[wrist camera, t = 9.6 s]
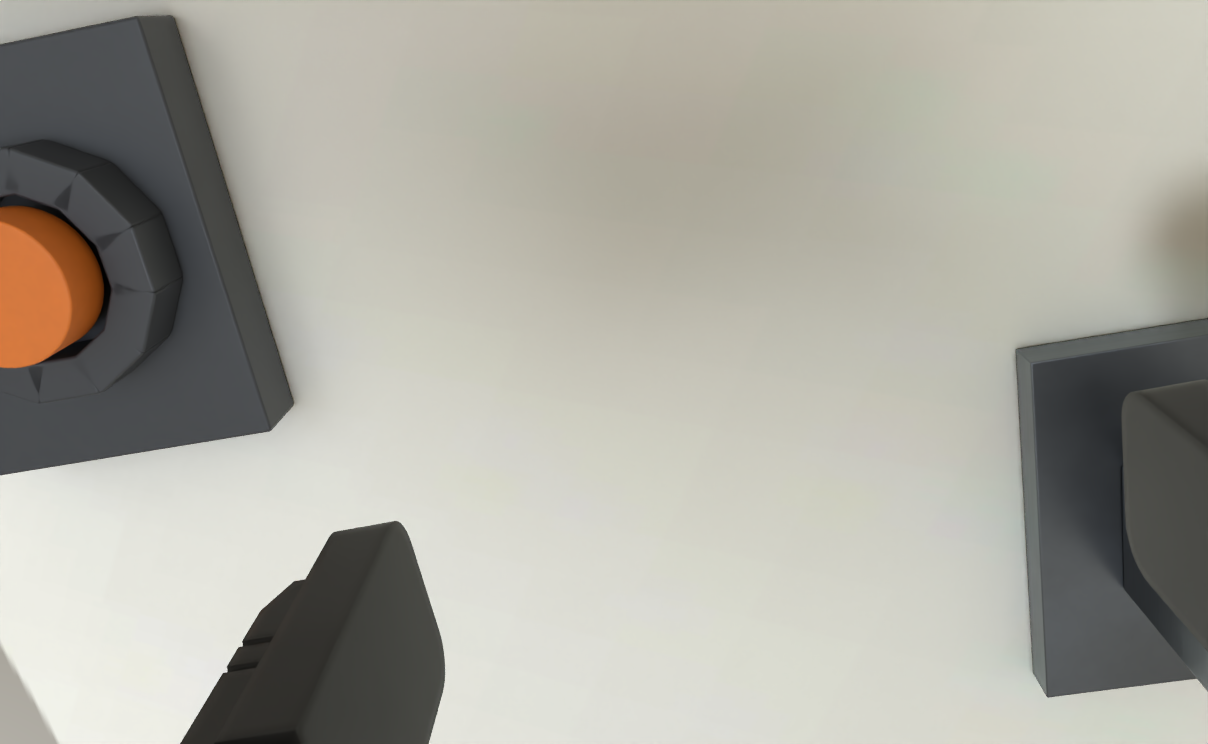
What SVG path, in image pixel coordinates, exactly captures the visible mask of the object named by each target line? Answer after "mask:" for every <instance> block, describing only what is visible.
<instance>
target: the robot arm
mask: <svg viewBox="0 0 1208 744" xmlns="http://www.w3.org/2000/svg"><path fill="white" fill-rule="evenodd" d="M1122 445H1123V470H1124V496H1125V520H1126V530H1127V535H1128V540H1129V544H1130V547H1131V551H1132V553H1133V556H1134V559H1135V561H1136V563H1137V566H1138V568H1139V570H1140V571H1141V573H1142V575H1143V576H1144V578H1145V579H1146V581H1147V582H1148V583H1149V584H1150V585H1151V587H1152V588H1153V589H1154V590H1155V591H1156V592H1157V594H1158V595H1159V596H1160V597H1161V598H1162V599H1163V600H1164V602H1165V603H1166V604H1167V605H1168V606H1169V607H1170V609H1171V610H1172V611H1173V612H1174V613H1175V614H1176V616H1177V617H1178V618H1179V619H1180V620H1181V621H1182V623H1183V624H1184V625H1185V626H1186V627H1187V628H1188V630H1189V631H1190V632H1191V633H1192V634H1193V635H1194V637H1195V638H1196V639H1197V640H1198V641H1199V642H1200V643H1201V645H1202V646H1203V647H1204V648H1205V649H1206V650H1207V652H1208V380H1205V379H1203V380H1197V381H1191V382H1186V383H1180V384H1174V385H1169V386H1163V387H1157V388H1152V389H1146V390H1140V391H1135V392H1130V393H1129V394H1128V395H1127V396H1126V397H1125V400H1124V402H1123V406H1122ZM242 642H243V647H239V648H238V649H237V651H236V653H235V654H234V656H233V657H232V659H231V661H230V662H229V664H228V666H227V669H228V672H227V673H223V674H222V676H221V677H220V679H219V681H218V682H217V684H216V686H215V687H214V689H213V691H212V692H211V694H210V696H209V697H208V699H207V700H206V702H205V704H204V705H203V707H202V709H201V710H200V712H199V714H198V715H197V717H196V719H195V720H194V722H193V724H192V725H191V727H190V729H189V730H188V732H187V734H186V735H185V737H184V739H183V740H182V742H181V743H180V744H429V740H430V736H431V733H432V729H433V725H434V722H435V718H436V715H437V711H438V707H439V704H440V700H441V697H442V693H443V688H444V681H445V660H444V651H443V645H442V640H441V636H440V632H439V629H438V626H437V623H436V619H435V616H434V613H433V610H432V607H431V604H430V601H429V597H428V594H427V591H426V588H425V585H424V582H423V579H422V575H421V572H420V569H419V566H418V563H417V560H416V556H415V553H414V550H413V547H412V544H411V541H410V538H409V536H408V534H407V531H406V530H405V528H404V527H403V525H402V524H401V523H399V522H397V521H393V522H388V523H382V524H376V525H371V526H365V527H360V528H354V529H348V530H343V531H337V532H334V533H332V534H331V536H330V537H329V539H328V540H327V542H326V544H325V546H324V547H323V549H322V551H321V553H320V555H319V556H318V558H317V560H316V562H315V563H314V565H313V567H312V569H311V571H310V572H309V574H308V576H307V578H306V580H300V581H294V582H293V583H292V584H291V585H289V586H288V587H287V588H286V589H285V590H284V591H283V592H281V593H280V594H279V595H278V596H277V597H276V598H275V599H274V600H272V601H271V602H270V603H269V604H268V605H267V606H266V607H264V608H263V609H262V610H261V611H260V613H259V614H258V616H257V618H256V619H255V621H254V623H253V624H252V626H251V628H250V629H249V631H248V633H247V634H246V636H245V638H244V639H243V641H242Z"/></svg>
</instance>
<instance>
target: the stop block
mask: <svg viewBox="0 0 1208 744" xmlns="http://www.w3.org/2000/svg"><path fill="white" fill-rule="evenodd" d="M4 206H27V207H33V208H36V209H40V210H43V211H45V212H48V213H50V214H52V215H54V216H56V217H58V218H60V219H61V220H63V221H64V222H66V223H67V224H69V225H70V226H71V227H72V228H73V229H75V230H76V231H77V232H78V233H79V234H80V235H81V236H82V238H83V239H84V240H85V241H86V242H87V244H88V245H89V246H90V248H91V250H92V251H93V253H94V255H95V256H96V259H97V261H98V263H99V266H100V269H101V272H102V276H103V282H104V299H103V305H102V309H101V312H100V315H99V317H98V319H97V321H96V322H95V324H94V326H93V327H92V328H91V329H90V330H89V332H88V333H87V334H85V335H84V336H83V337H82V338H80V339H79V340H77V341H75V342H74V343H72V344H70V345H69V346H67V347H65V348H63V349H62V350H60V351H58V352H57V353H55V354H53V355H52V356H50V357H48V358H47V359H45V360H43V361H42V362H39V363H37V364H34V365H31V366H27V367H21V368H1V367H0V475H5V474H11V473H17V472H24V471H30V470H36V469H42V468H48V467H54V466H60V465H66V464H73V463H79V462H85V461H91V460H97V459H103V458H109V457H115V456H122V455H128V454H134V453H140V452H146V451H152V450H158V449H164V448H171V447H177V446H183V445H189V444H195V443H201V442H207V441H213V440H220V439H226V438H232V437H238V436H244V435H250V434H256V433H262V432H269V431H271V430H272V429H273V428H274V427H275V426H276V424H277V423H278V422H279V421H280V420H281V419H282V418H283V416H284V415H285V414H286V413H287V412H288V411H289V410H290V408H291V407H292V406H293V400H292V397H291V394H290V390H289V387H288V384H287V381H286V378H285V374H284V371H283V368H282V365H281V361H280V358H279V355H278V352H277V349H276V345H275V342H274V339H273V336H272V333H271V329H270V326H269V323H268V320H267V316H266V313H265V310H264V307H263V304H262V300H261V297H260V294H259V291H258V287H257V284H256V281H255V278H254V275H253V271H252V268H251V265H250V262H249V259H248V255H247V252H246V249H245V246H244V242H243V239H242V236H241V233H240V230H239V226H238V223H237V220H236V217H235V213H234V210H233V207H232V204H231V201H230V197H229V194H228V191H227V188H226V185H225V181H224V178H223V175H222V172H221V168H220V165H219V162H218V159H217V156H216V152H215V149H214V146H213V143H212V139H211V136H210V133H209V130H208V127H207V123H206V120H205V117H204V114H203V111H202V107H201V104H200V101H199V98H198V94H197V91H196V88H195V85H194V82H193V78H192V75H191V72H190V69H189V65H188V62H187V59H186V56H185V53H184V49H183V46H182V43H181V40H180V36H179V33H178V30H177V27H176V24H175V20H174V18H173V16H170V15H166V16H135V17H130V18H125V19H120V20H115V21H111V22H106V23H101V24H96V25H91V26H87V27H82V28H77V29H72V30H67V31H62V32H58V33H53V34H48V35H43V36H38V37H34V38H29V39H24V40H19V41H14V42H9V43H5V44H0V207H4Z"/></svg>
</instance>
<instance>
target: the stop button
mask: <svg viewBox="0 0 1208 744" xmlns="http://www.w3.org/2000/svg"><path fill="white" fill-rule="evenodd" d="M103 299H104V282H103V276H102V272H101V269H100V266H99V263H98V261H97V259H96V256H95V255H94V253H93V251H92V250H91V248H90V246H89V245H88V244H87V242H86V241H85V240H84V239H83V238H82V236H81V235H80V234H79V233H78V232H77V231H76V230H75V229H73V228H72V227H71V226H70V225H69V224H67V223H66V222H64V221H63V220H61V219H60V218H58V217H56V216H54V215H52V214H50V213H48V212H45V211H43V210H40V209H36V208H33V207H27V206H4V207H0V367H1V368H21V367H27V366H31V365H34V364H37V363H39V362H42V361H43V360H45V359H47V358H48V357H50V356H52V355H53V354H55V353H57V352H58V351H60V350H62V349H63V348H65V347H67V346H69V345H70V344H72V343H74V342H75V341H77V340H79V339H80V338H82V337H83V336H84V335H85V334H87V333H88V332H89V330H90V329H91V328H92V327H93V326H94V324H95V322H96V321H97V319H98V317H99V315H100V312H101V309H102V305H103Z"/></svg>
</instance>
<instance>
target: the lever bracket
mask: <svg viewBox="0 0 1208 744" xmlns="http://www.w3.org/2000/svg"><path fill="white" fill-rule="evenodd" d="M1016 359H1017V377H1018V396H1019V415H1020V433H1021V452H1022V470H1023V489H1024V507H1025V526H1026V544H1027V563H1028V581H1029V600H1030V618H1031V637H1032V655H1033V674H1034V675H1035V677H1036V679H1037V681H1038V682H1039V684H1040V686H1041V687H1042V689H1043V691H1044V693H1045V694H1046V696H1047V697H1055V696H1063V695H1071V694H1078V693H1086V692H1094V691H1102V690H1110V689H1118V688H1126V687H1134V686H1142V685H1149V684H1157V683H1165V682H1173V681H1181V680H1189V679H1198V680H1199V681H1200V683H1201V684H1202V685H1203V686H1204V687H1205V689H1206V690H1207V691H1208V652H1207V650H1206V649H1205V648H1204V647H1203V646H1202V645H1201V643H1200V642H1199V641H1198V640H1197V639H1196V638H1195V637H1194V635H1193V634H1192V633H1191V632H1190V631H1189V630H1188V628H1187V627H1186V626H1185V625H1184V624H1183V623H1182V621H1181V620H1180V619H1179V618H1178V617H1177V616H1176V614H1175V613H1174V612H1173V611H1172V610H1171V609H1170V607H1169V606H1168V605H1167V604H1166V603H1165V602H1164V600H1163V599H1162V598H1161V597H1160V596H1159V595H1158V594H1157V592H1156V591H1155V590H1154V589H1153V588H1152V587H1151V585H1150V584H1149V583H1148V582H1147V581H1146V579H1145V578H1144V576H1143V575H1142V573H1141V571H1140V570H1139V568H1138V566H1137V563H1136V561H1135V559H1134V556H1133V553H1132V551H1131V547H1130V544H1129V540H1128V535H1127V530H1126V520H1125V496H1124V470H1123V445H1122V406H1123V402H1124V400H1125V397H1126V396H1127V395H1128V394H1129V393H1130V392H1135V391H1140V390H1146V389H1152V388H1157V387H1163V386H1169V385H1174V384H1180V383H1186V382H1191V381H1197V380H1203V379H1205V380H1208V319H1203V320H1196V321H1190V322H1184V323H1177V324H1171V325H1165V326H1159V327H1152V328H1146V329H1140V330H1134V331H1127V332H1121V333H1115V334H1109V335H1102V336H1096V337H1090V338H1083V339H1077V340H1071V341H1065V342H1058V343H1052V344H1046V345H1040V346H1033V347H1027V348H1021V349H1016Z"/></svg>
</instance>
